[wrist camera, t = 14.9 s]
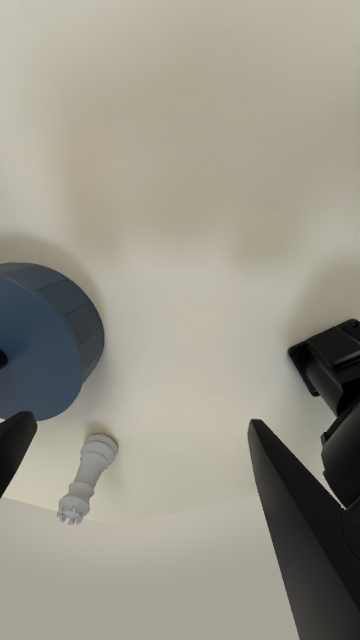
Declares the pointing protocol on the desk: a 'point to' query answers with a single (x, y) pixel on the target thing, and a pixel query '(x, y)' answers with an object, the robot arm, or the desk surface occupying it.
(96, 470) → the rook chess piece
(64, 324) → the pot lid
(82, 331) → the pot
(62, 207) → the desk surface
